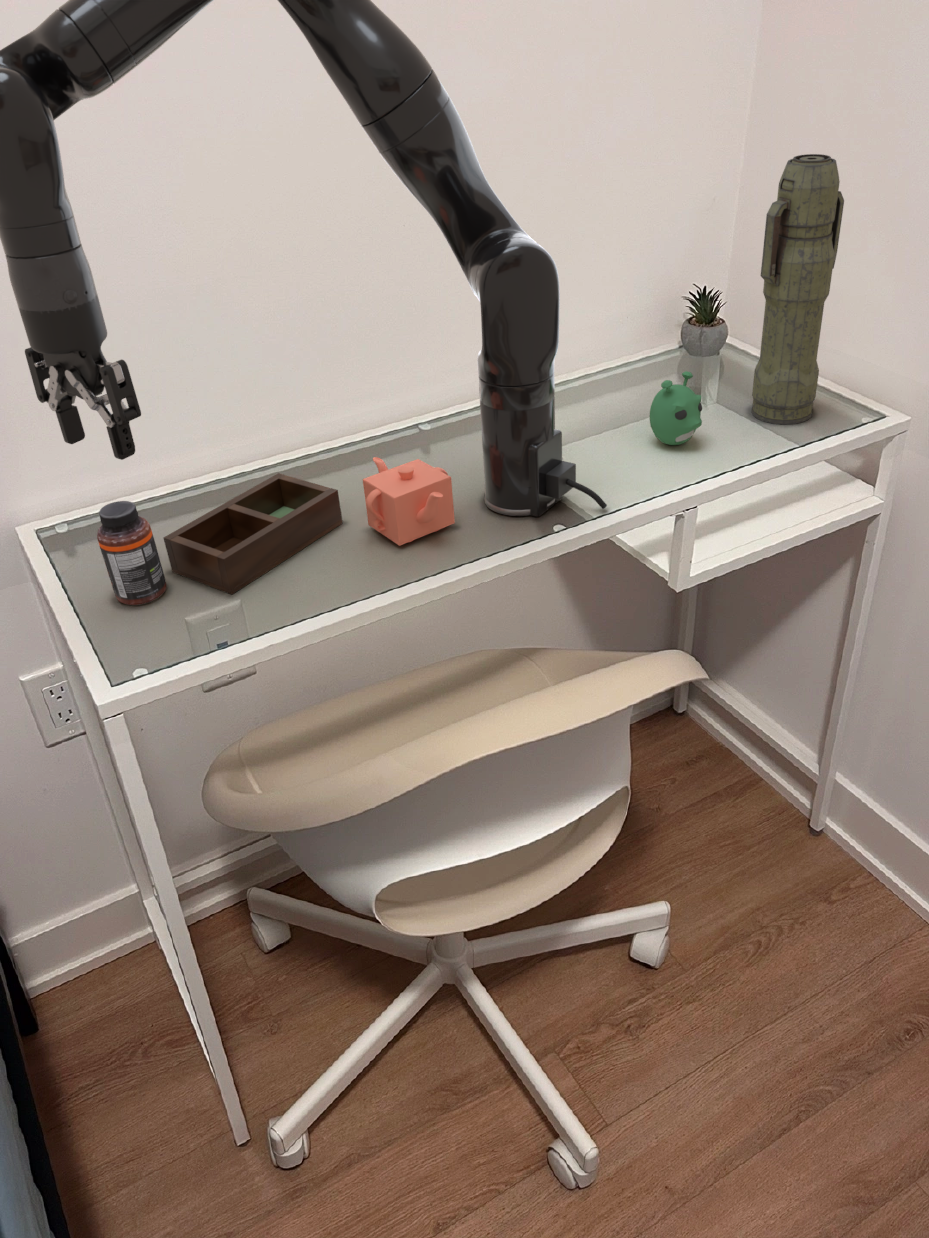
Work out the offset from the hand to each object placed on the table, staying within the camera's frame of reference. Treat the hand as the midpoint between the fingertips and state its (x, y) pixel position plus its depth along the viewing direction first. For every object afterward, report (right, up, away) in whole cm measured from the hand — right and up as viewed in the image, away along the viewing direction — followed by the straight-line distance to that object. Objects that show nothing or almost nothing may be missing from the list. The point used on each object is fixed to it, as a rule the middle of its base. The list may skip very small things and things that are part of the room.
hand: (100, 448), depth 108 cm
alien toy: (+69, +6, +35) cm, 78 cm away
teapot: (+32, -7, +19) cm, 38 cm away
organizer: (+13, -9, +18) cm, 24 cm away
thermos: (+86, +12, +42) cm, 96 cm away
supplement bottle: (+1, -15, +10) cm, 19 cm away
